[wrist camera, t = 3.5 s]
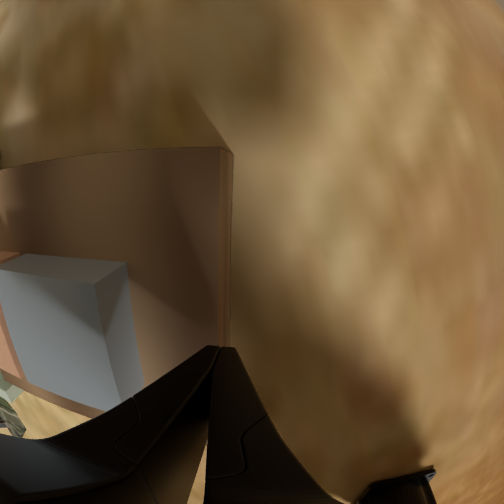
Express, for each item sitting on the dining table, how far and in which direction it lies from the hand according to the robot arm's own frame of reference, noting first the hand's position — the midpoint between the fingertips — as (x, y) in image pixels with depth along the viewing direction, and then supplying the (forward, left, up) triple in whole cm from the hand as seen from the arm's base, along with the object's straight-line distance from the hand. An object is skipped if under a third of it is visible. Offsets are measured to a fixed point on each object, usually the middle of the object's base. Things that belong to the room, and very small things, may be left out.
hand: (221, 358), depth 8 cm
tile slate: (+6, 0, -1) cm, 6 cm away
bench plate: (+7, 0, -4) cm, 8 cm away
